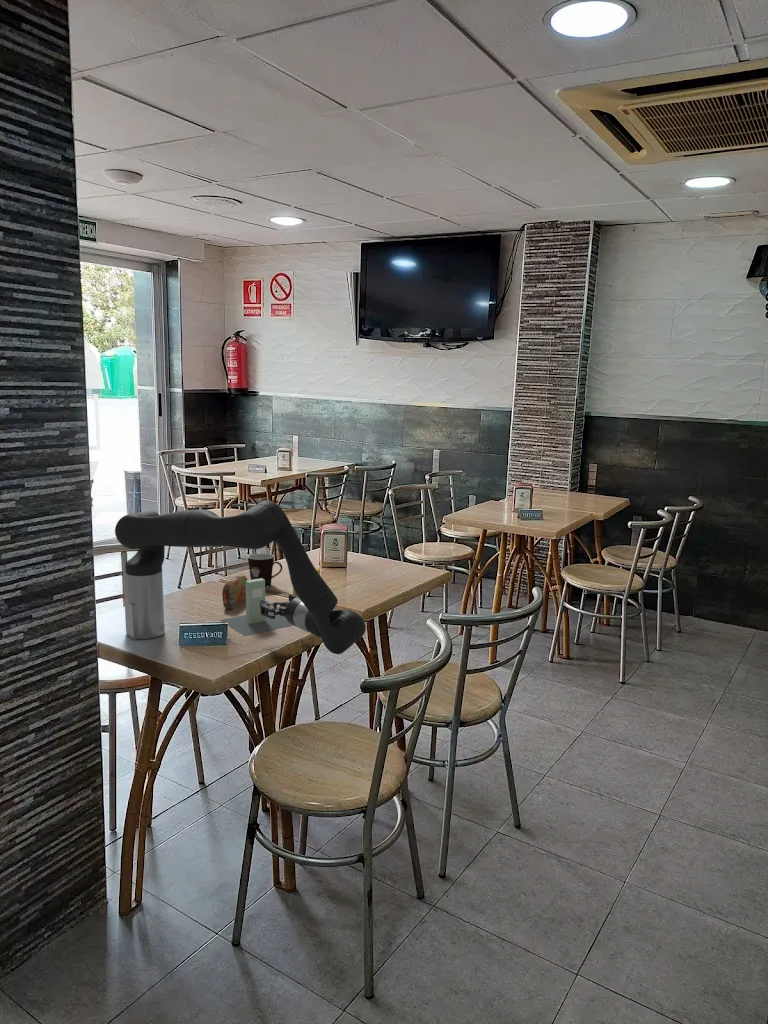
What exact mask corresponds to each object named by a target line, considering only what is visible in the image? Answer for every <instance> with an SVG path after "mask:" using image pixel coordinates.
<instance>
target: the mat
mask: <svg viewBox="0 0 768 1024" xmlns="http://www.w3.org/2000/svg"><path fill="white" fill-rule="evenodd" d="M278 610H279V608H278ZM218 621H219V622H221V623H223V622H227V623H228V625H229V626H228V625H227V626H228V627H229V628H231V629H232V630H234V631H236V632H238V634H241V635H242V636H244V637H246V636H251V635H255V634H260V633H264V632H270V631H274V630H275V631H276V630H279V629H284V628H289V627H293V626H294V625H292V624H290V623H289V622H288V620H287V619H286V617H284V616H278V615H275V619H270V618H268V617H266V621H262V622H257V623H252V624H249V623H247V622H246V614H245V615H239V616H233V617H228V618H224V619H219V620H218ZM294 627H295V626H294Z"/></svg>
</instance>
